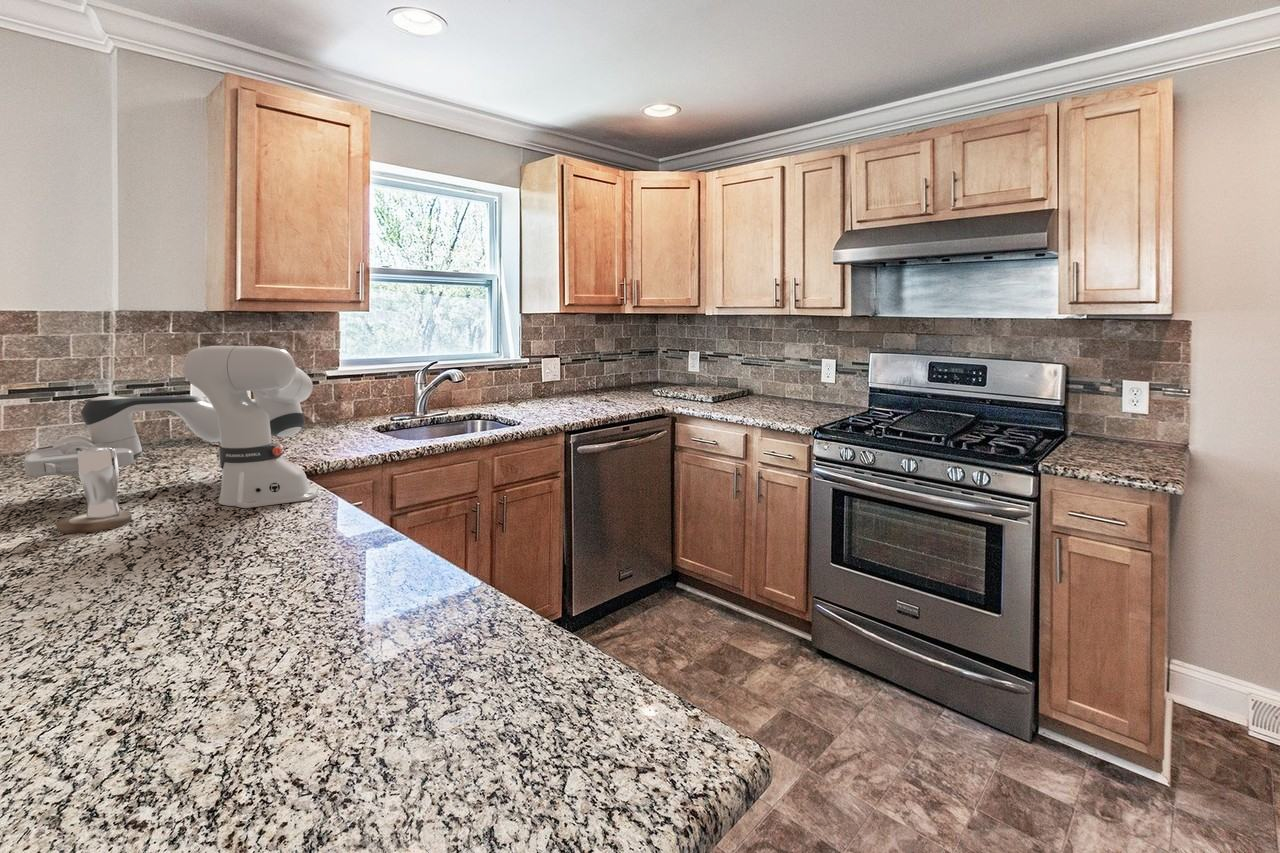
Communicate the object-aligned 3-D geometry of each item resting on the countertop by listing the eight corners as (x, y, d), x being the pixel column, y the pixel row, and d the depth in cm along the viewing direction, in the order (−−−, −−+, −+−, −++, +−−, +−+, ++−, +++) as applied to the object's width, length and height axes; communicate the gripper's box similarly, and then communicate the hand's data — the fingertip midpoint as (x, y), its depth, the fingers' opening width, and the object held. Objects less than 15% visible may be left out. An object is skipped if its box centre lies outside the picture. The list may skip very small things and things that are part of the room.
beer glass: (100, 519, 146) (93, 451, 145) (75, 518, 148) (67, 451, 146) (131, 512, 153) (124, 446, 151) (107, 511, 155) (99, 446, 153)
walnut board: (138, 514, 158) (137, 507, 158) (122, 529, 146) (121, 522, 146) (69, 520, 153) (68, 512, 153) (46, 536, 141) (45, 528, 141)
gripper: (131, 464, 174) (140, 473, 164) (25, 476, 160) (27, 486, 150) (128, 440, 173) (137, 447, 163) (21, 450, 159) (23, 459, 149)
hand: (83, 466), depth 157 cm, fingers open, 8 cm apart
